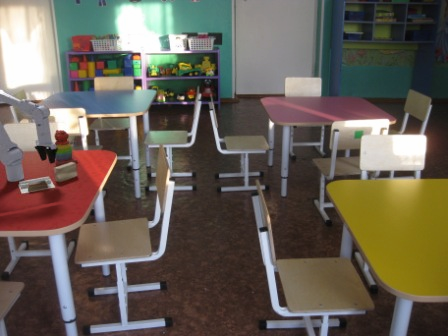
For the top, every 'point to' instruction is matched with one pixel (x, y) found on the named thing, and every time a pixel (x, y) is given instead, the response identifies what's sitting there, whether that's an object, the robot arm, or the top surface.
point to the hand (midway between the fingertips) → (48, 161)
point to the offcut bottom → (37, 188)
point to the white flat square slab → (24, 184)
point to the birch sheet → (65, 171)
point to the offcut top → (37, 184)
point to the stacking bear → (63, 148)
